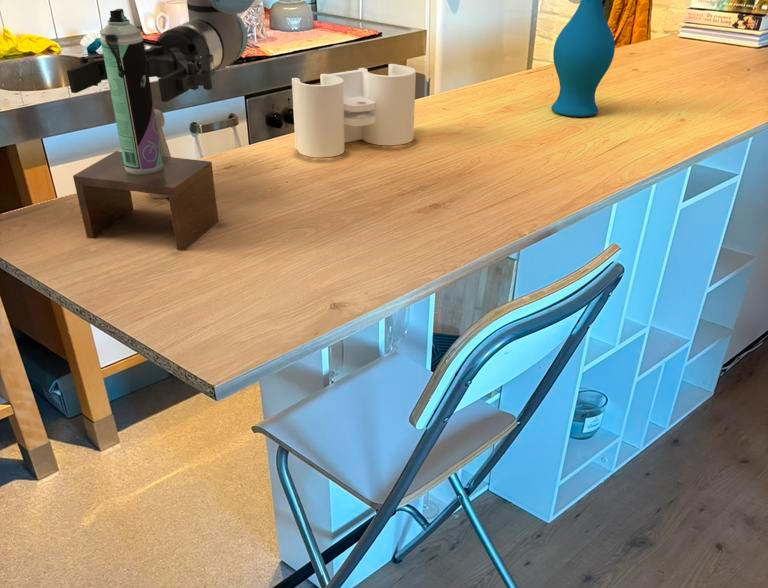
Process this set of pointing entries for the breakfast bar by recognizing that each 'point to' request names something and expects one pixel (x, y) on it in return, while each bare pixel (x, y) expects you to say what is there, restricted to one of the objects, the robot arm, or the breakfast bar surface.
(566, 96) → the vase
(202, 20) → the robot arm
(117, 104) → the spray can
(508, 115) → the breakfast bar surface
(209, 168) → the shelf
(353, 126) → the bracket
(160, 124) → the salt shaker
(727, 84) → the breakfast bar surface
